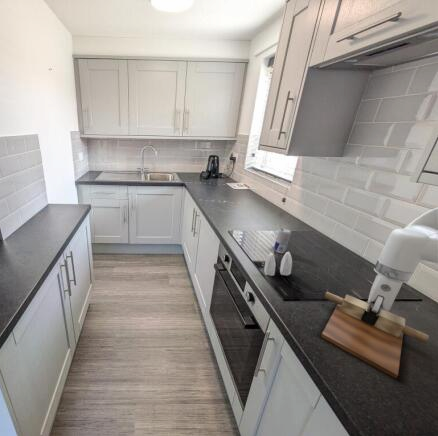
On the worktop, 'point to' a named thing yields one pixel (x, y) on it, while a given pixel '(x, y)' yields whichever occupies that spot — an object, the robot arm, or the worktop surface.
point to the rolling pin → (384, 322)
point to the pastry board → (364, 341)
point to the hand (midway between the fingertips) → (368, 317)
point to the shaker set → (285, 265)
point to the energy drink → (282, 240)
